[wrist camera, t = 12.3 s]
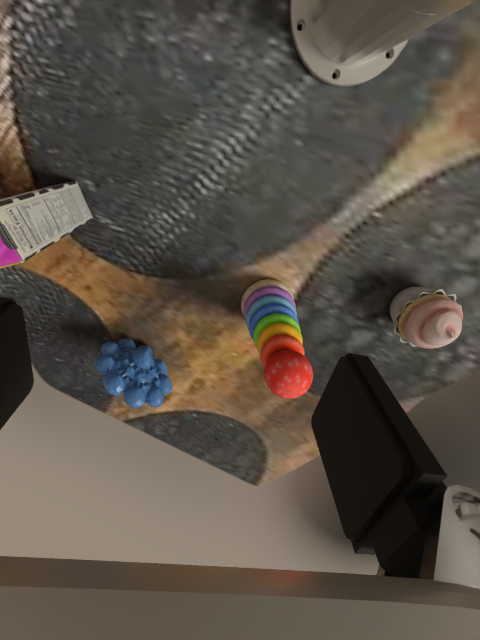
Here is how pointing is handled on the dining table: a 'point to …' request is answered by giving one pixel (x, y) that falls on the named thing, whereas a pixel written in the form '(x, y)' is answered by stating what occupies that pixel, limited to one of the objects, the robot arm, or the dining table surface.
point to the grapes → (133, 373)
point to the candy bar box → (39, 220)
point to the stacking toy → (277, 337)
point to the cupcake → (426, 317)
